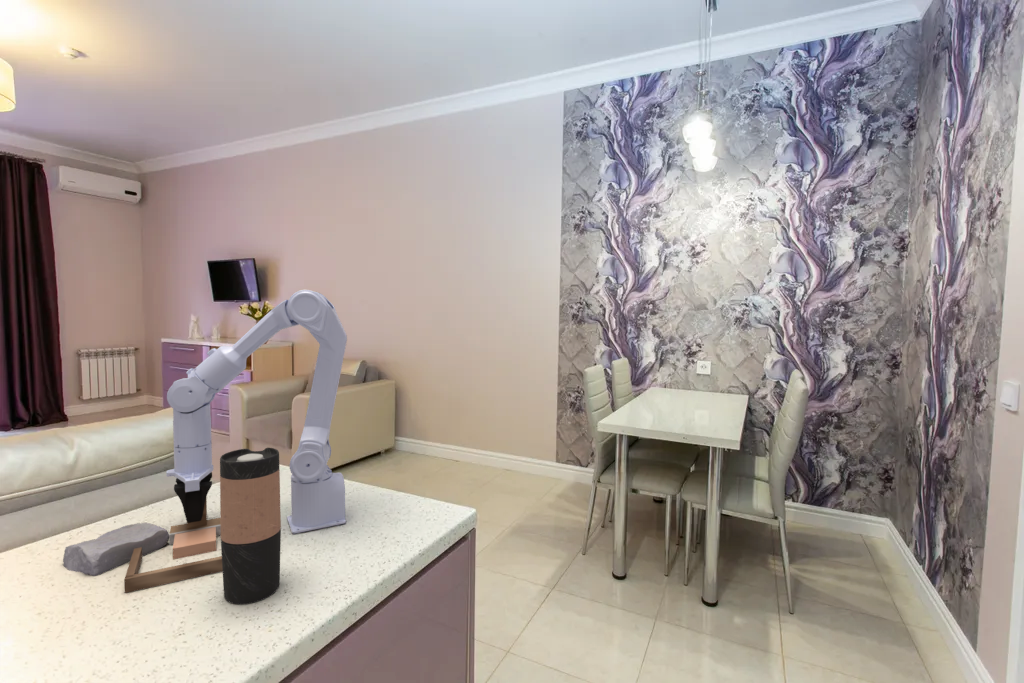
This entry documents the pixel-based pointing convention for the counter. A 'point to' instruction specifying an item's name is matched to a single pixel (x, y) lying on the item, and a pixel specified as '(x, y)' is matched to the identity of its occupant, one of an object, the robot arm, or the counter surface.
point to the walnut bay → (166, 572)
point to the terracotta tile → (194, 543)
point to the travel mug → (250, 524)
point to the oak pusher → (196, 526)
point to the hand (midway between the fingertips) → (194, 518)
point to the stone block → (114, 548)
